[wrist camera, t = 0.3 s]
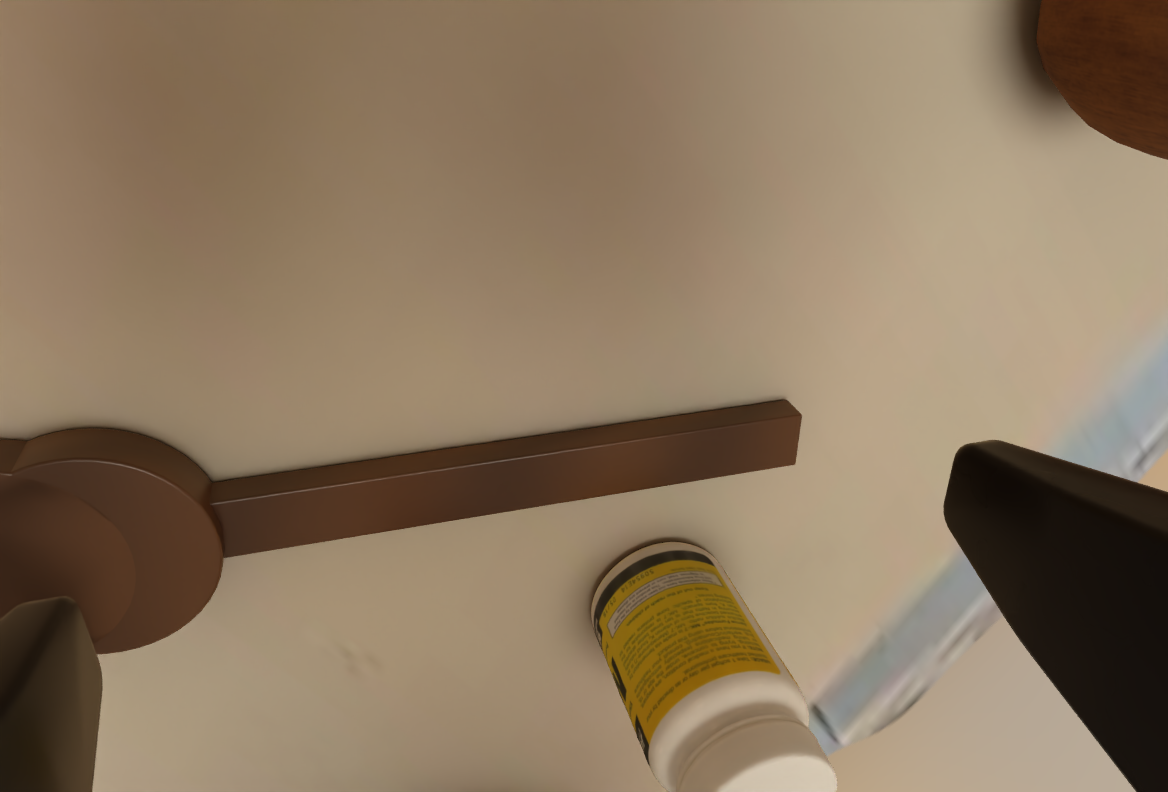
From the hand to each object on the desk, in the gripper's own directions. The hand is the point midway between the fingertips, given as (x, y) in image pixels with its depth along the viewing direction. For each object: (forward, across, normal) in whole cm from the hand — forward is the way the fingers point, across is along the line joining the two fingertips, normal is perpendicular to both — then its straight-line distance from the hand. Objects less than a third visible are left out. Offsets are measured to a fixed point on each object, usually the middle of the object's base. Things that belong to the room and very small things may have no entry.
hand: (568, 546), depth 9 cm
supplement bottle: (+15, -7, +14) cm, 21 cm away
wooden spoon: (+14, +1, +8) cm, 17 cm away
